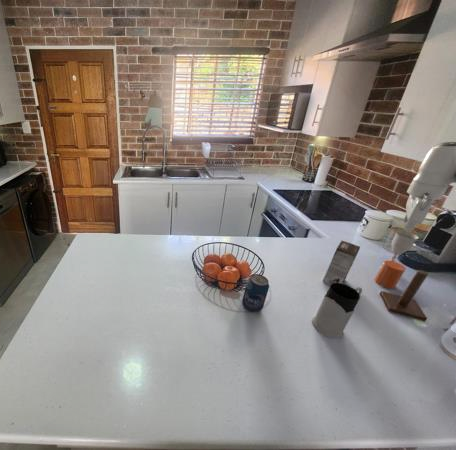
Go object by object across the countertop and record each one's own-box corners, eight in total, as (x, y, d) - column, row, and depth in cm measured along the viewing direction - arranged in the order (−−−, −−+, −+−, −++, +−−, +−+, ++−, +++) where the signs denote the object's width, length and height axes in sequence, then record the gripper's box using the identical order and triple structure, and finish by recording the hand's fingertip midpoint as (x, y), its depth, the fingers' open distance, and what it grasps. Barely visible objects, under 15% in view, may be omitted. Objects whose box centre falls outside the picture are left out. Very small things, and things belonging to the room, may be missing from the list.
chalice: (401, 275, 106) (423, 239, 98) (385, 274, 106) (406, 238, 98) (387, 265, 113) (407, 230, 105) (372, 264, 113) (391, 230, 104)
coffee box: (327, 272, 106) (341, 239, 99) (345, 279, 102) (361, 246, 95) (321, 281, 101) (336, 247, 93) (340, 289, 97) (356, 255, 89)
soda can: (240, 310, 85) (247, 283, 79) (241, 297, 91) (248, 270, 85) (262, 316, 83) (271, 288, 77) (262, 302, 89) (270, 275, 83)
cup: (391, 281, 102) (402, 263, 98) (397, 290, 97) (408, 272, 93) (372, 276, 105) (382, 258, 101) (377, 285, 100) (387, 267, 96)
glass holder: (305, 320, 82) (321, 285, 75) (333, 309, 87) (350, 275, 80) (331, 342, 75) (350, 305, 68) (360, 328, 80) (380, 292, 73)
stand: (412, 302, 91) (435, 268, 84) (425, 321, 83) (451, 285, 76) (379, 293, 95) (398, 260, 88) (388, 311, 87) (410, 276, 80)
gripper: (442, 200, 77) (419, 239, 83) (435, 186, 91) (416, 220, 97) (415, 195, 80) (395, 232, 87) (412, 182, 94) (395, 215, 101)
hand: (406, 226), depth 92 cm, fingers open, 8 cm apart
